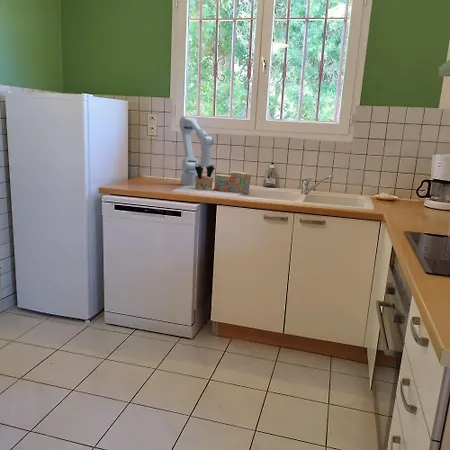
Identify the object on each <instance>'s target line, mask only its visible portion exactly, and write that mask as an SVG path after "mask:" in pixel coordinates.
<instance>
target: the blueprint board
mask: <svg viewBox="0 0 450 450" xmlns="http://www.w3.org/2000/svg"><path fill="white" fill-rule="evenodd" d="M193 188H195V186H193ZM180 189H182V190H186V191H191V192H198V190H196V188H195V189H191V188H187V187H180ZM197 189H201V190H203V191H204V189H203V188H197Z"/></svg>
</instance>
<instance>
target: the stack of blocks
mask: <svg viewBox="0 0 450 450" xmlns="http://www.w3.org/2000/svg"><path fill="white" fill-rule="evenodd" d="M214 177H215V178H214V179H215V180H214V187H213V191H219V192H230V193H239V194H245V195H249V193H250V185H251V178H252V173H247V172H242V171H234V170H233V171H232V170H231V171H230V175H227V174H226V175H225V174H215V176H214Z"/></svg>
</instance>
